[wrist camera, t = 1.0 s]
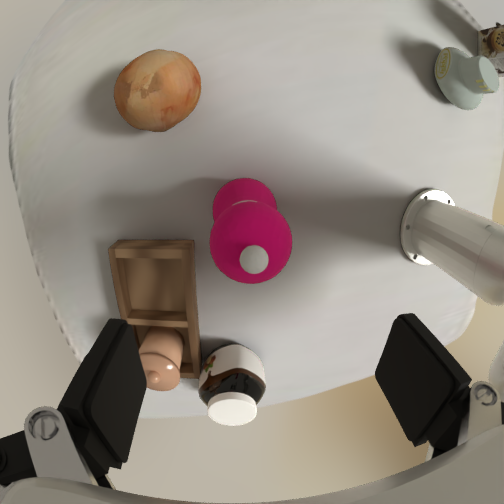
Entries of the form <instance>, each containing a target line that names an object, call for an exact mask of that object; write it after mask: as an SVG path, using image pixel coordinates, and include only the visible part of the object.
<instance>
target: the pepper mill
mask: <svg viewBox="0 0 504 504" xmlns="http://www.w3.org/2000/svg"><path fill="white" fill-rule="evenodd" d="M213 218H214V221H215V223H214V225H213V227H212V230H211V234H210V251H211V255H212V258H213V260H214V262H215V264H216V266H217V267H218V268H219V269H220V271H222V272H223V273H224V274H225V275H226V276H228V277H229V278H231V279H233V280H235V281H238V282H241V283H248V284H254V283H261V282H264V281H267V280H269V279H271V278H273V277H274V276H276V275H277V274H278V273H279V272H280V271H281V270H282V269H283V268H284V266H285V265H286V263H287V261H288V259H289V257H290V254H291V249H292V235H291V231H290V228H289V226H288V223H287V222H286V220H285V218H284V217H283V216H282V215H281V214H280V213H279V212H278V211H277V205H276V201H275V199H274V196H273V194H272V193H271V191H270V190H269V189H268V188H267V187H266V186H265V185H264V184H262V183H261V182H259V181H257V180H254V179H250V178H241V179H236V180H233V181H231V182H229V183H227V184H226V185H224V186H223V187H222V188H221V189H220V190H219V192H218V193H217V195H216V197H215V199H214V202H213Z"/></svg>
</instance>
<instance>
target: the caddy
mask: <svg viewBox="0 0 504 504" xmlns="http://www.w3.org/2000/svg"><path fill="white" fill-rule="evenodd" d="M108 252H109V259H110V265H111V271H112V277H113V283H114V288H115V293H116V298H117V303H118V307H119V312H120V316H121V319H123V320H126V321H127V323H128V324H131V325H132V327H133V331H134V335H135V339H136V343H137V347H138V351H139V349H140V347H141V344H142V342H143V340H144V337H145V335H146V332H147V330H148V329H149V328H150V327H152V326H165V327H173V328H175V329H176V330H178V331H179V332H180V333H181V335H182V336H183V338H184V342H185V345H184V350H183V355H182V360H181V364H180V378H196V379H199V377H200V373H201V368H202V356H201V346H200V335H199V324H198V311H197V297H196V281H195V262H194V240H118V241H117V242H116V243H114V244H113V245H112V246H111V247H110V248H109V249H108Z"/></svg>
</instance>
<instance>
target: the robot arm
mask: <svg viewBox="0 0 504 504" xmlns="http://www.w3.org/2000/svg"><path fill="white" fill-rule="evenodd" d="M400 236H401V244H402V247H403V250H404V252H405V254H406V255H407V256H408V258H409V259H411V260H412V261H413V262H415V263H417V264H419V265H430V264H434V265H436V266H437V267H439V268H440V269H442V270H443V271H444V272H446V273H447V274H449V275H450V276H451V277H453V278H454V279H456V280H457V281H458V282H460V283H461V284H462V285H464V286H465V287H466V288H468V289H469V290H470V291H472V292H473V293H474V294H476V295H477V296H478V297H480V298H481V299H482V300H484V301H485V302H487V303H489V304H491V305H496V306H497V305H498V306H499V305H504V226H503V225H501V224H498V223H496V222H494V221H492V220H489V219H487V218H485V217H482V216H480V215H477V214H475V213H472V212H470V211H467V210H464V209H462V208H459V207H456V206H455V204H454V202H453V201H452V199H451V198H450V197H449V196H448V195H447V194H446V193H444V192H442V191H440V190H435V189H429V190H425V191H423V192H421V193H420V194H418V195H417V196H416V197H415V198H414V199H413V200H412V201H411V203H410V204H409V205H408V207H407V209H406V211H405V213H404V216H403V219H402V224H401V233H400ZM375 377H376V380H377V382H378V384H379V385H380V387H381V389H382V391H383V393H384V394H385V396H386V398H387V400H388V402H389V404H390V406H391V408H392V409H393V411H394V413H395V415H396V417H397V419H398V421H399V423H400V425H401V426H402V428H403V431H404V433H405V435H406V437H407V438H408V440H409V441H412V443H413V445H414V446H415V447H416V446H418V445H421V444H423V443H426V442H427V440H429V443H430V445H429V449H428V453H427V457H426V460H425V462H424V463H422V464H420V465H418V466H415V467H413V468H410V469H408V470H405V471H403V472H400V473H398V474H395V475H392V476H389V477H386V478H384V479H380V480H377V481H374V482H371V483H368V484H364V485H361V486H357V487H353V488H349V489H345V490H341V491H337V492H333V493H328V494H323V495H318V496H312V497H306V498H299V499H292V500H285V501H274V502H261V503H235V504H504V341H503V343H502V345H501V347H500V348H499V350H498V352H497V354H496V356H495V358H494V360H493V362H492V364H491V367H490V370H489V379H488V380H489V383H488V382H484V381H479V382H476V383H474V384H473V385H472V387H471V388H469V386H468V385H469V384H470V382H471V380H472V379H471V378H470V377H469V375H468V374H467V373H466V372H465V370H464V369H463V368H462V367H461V366H460V364H459V363H458V362H457V361H456V360H455V359H454V357H453V356H452V355H451V354H450V353H449V352H448V351H447V349H446V348H445V347H444V346H443V345H442V344H441V343H440V341H439V340H438V339H437V338H436V337H435V336H434V335H433V334H432V333H431V331H430V330H429V329H428V328H427V327H426V326H425V325H424V324H423V323H422V322H421V321H420V320H419V319H418V317H417V316H416V315H415V314H413V313H409V314H401V315H399V316H398V317H397V319H395V320H394V322H393V325H392V328H391V331H390V334H389V336H388V339H387V342H386V345H385V348H384V350H383V353H382V355H381V358H380V361H379V363H378V366H377V368H376V371H375ZM146 387H147V380H146V376H145V372H144V369H143V366H142V362H141V358H140V355H139V351H138V347H137V343H136V339H135V335H134V331H133V327H132V325H131V324H128V323H127V321H126V320H123V319H109V320H108V322H107V323H106V325H105V326H104V328H103V330H102V331H101V333H100V335H99V336H98V338H97V340H96V341H95V343H94V345H93V346H92V348H91V350H90V351H89V353H88V354H87V355H86V356H85V358H84V360H83V361H82V363H81V365H80V367H79V368H78V370H77V372H76V374H75V376H74V377H73V379H72V381H71V383H70V385H69V387H68V389H67V391H66V392H65V394H64V396H63V398H62V400H61V402H60V404H59V406H58V408H57V409H54V408H52V407H46V406H44V407H39V408H36V409H34V410H33V411H32V412H30V413H29V415H28V416H27V418H26V419H25V424H24V430H23V431H20V432H18V433H15V434H12V435H10V436H7V437H3V438H1V439H0V504H229V503H199V502H186V501H177V500H169V499H161V498H154V497H148V496H142V495H137V494H132V493H127V492H123V491H118V490H116V489H115V487H114V485H113V484H112V482H111V480H110V479H109V477H108V475H107V474H108V470H109V467H113V468H117V469H121V466H122V462H123V463H126V462H127V460H128V456H129V452H130V447H131V444H132V440H133V435H134V432H135V427H136V424H137V419H138V416H139V413H140V409H141V405H142V402H143V398H144V395H145V391H146ZM232 504H234V503H232Z"/></svg>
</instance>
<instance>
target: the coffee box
mask: <svg viewBox="0 0 504 504" xmlns="http://www.w3.org/2000/svg"><path fill="white" fill-rule="evenodd" d="M480 55H482V56H485V57H486V58H487V59H488V60H489V61H490V62H491V63H492V64H493V66H494V67H495V69H496V72H497V74H498V77H503V76H504V25H501V26H497V27H493V28H489V29H485V30H481V31H478V56H480Z"/></svg>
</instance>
